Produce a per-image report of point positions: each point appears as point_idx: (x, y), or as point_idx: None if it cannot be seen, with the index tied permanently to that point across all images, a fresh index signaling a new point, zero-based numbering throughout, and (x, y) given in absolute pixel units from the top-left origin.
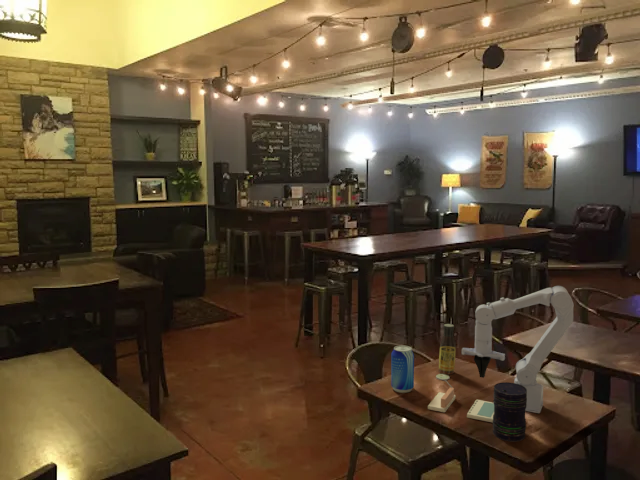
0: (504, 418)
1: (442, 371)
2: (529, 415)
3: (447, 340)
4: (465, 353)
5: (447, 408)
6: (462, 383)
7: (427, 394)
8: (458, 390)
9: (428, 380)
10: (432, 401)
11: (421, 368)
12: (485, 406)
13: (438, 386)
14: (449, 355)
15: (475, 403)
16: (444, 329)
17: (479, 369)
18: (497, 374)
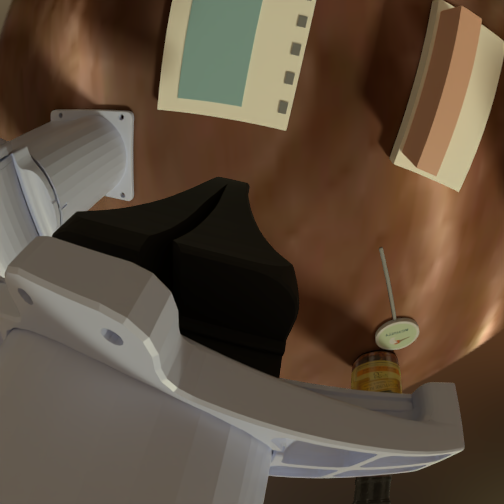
0: None
1: (392, 358)
2: (75, 81)
3: None
4: (406, 404)
5: (426, 34)
6: (337, 306)
7: (489, 191)
8: (363, 247)
9: (448, 307)
10: (493, 84)
11: (435, 367)
12: (234, 51)
13: (433, 270)
14: None
15: (289, 74)
16: (388, 498)
17: (235, 207)
18: None
